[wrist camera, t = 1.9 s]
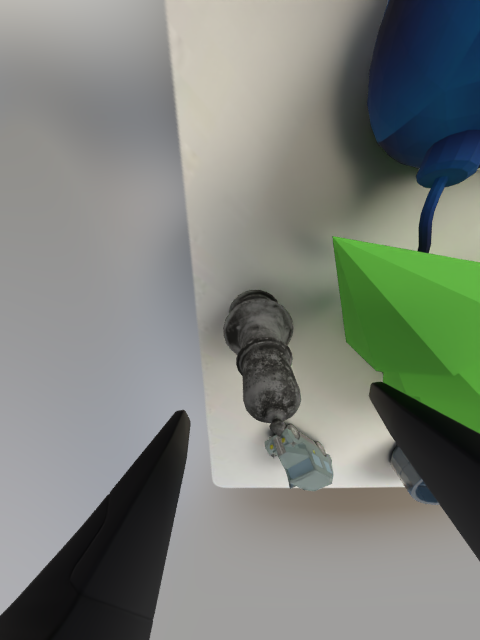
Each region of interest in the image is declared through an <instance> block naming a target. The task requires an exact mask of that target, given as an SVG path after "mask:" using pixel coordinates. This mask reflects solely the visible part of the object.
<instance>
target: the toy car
mask: <svg viewBox="0 0 480 640" xmlns="http://www.w3.org/2000/svg"><path fill="white" fill-rule="evenodd" d="M265 448H266V450H267V451H268V453H269V455H270V456H272V457H274V456H277V455H278V457H279V459H280V461H281V463H282V465H283V467H284V468H285V471H286V474H287V477H288V481H289V486H290V489H291V488H293V487H295V486H297V487H299V488H301V489H303V490H309V491H316V490H318V489H320V488H323V487H325V486H328V485H330V484H332V479H333V470H332V465H331V464H332V460H331V457H330V455H328V454H326V453H325V450H324V448H323V446H322V445H321V444H320V443H319V442H316V443H315V442H314V441H313V440H311V439H310V438H308V437H306V436H305V435H303V434H302V433H300V432H297V430H296V428H295V427H294V426H293V425H292V424H290V425H288V426H287V428H286V429H285V430H284V432H283V433H282V435H281V436H280V437H278V436H277V435H275V436H274V435H272V436H271V437H269V440H268V439H267V441H265Z"/></svg>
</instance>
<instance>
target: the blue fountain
mask: <svg viewBox="0 0 480 640" xmlns="http://www.w3.org/2000/svg"><path fill="white" fill-rule="evenodd" d="M390 462H391V466H392V468H393V469H394V471H395V472H396V474H397V475H398V477H399V478H400V480H401V481H402V483H403V484H404V486H405V487H406V489H407V490H408V492H409V493H410V495H411V496H412V497H413V498H414V499H415V500H416V501H418V502H421V503H425V504H434V505H440V504H439V503H438V501H437V500H436V498H435V497H434V496H433V494H432V493H431V491H430V490H429V489H428V487H427V486H426V484H425V483H424V481H423V480H422V479H421V477H420V476H419V474H418V473H417V471H416V470H415V469H414V467H413V466H412V464H411V463H410V462H409V460H408V459H407V457H406V456H405V454H404V453H403V452H402V450H401V449H400V447H399V446H397V447H396V448H395V449H394V451H393V453H392V458H391V461H390Z"/></svg>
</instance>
